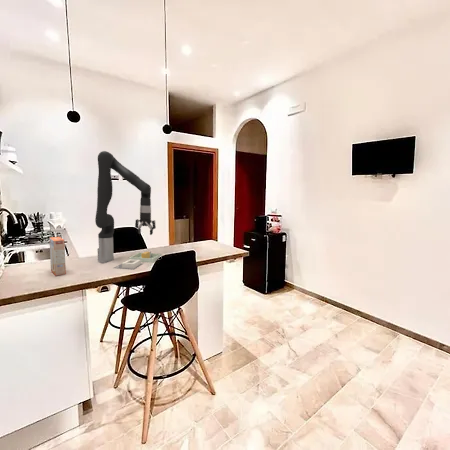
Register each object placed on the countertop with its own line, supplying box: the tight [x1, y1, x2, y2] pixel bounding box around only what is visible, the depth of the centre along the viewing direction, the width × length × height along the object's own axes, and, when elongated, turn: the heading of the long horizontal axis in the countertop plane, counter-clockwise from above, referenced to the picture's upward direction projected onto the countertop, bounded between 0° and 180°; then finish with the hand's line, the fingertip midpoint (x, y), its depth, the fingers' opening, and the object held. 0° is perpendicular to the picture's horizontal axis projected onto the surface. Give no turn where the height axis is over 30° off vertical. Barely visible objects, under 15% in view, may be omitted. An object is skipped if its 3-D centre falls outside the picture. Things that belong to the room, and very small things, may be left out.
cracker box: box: [48, 236, 67, 277], centre depth 156 cm, size 14×6×21 cm, turn 42°
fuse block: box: [113, 258, 143, 271], centre depth 172 cm, size 14×14×4 cm
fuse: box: [141, 250, 152, 258], centre depth 191 cm, size 3×5×10 cm
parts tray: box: [128, 251, 162, 263], centre depth 190 cm, size 18×16×4 cm
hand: (145, 234), depth 188 cm, fingers open, 8 cm apart
